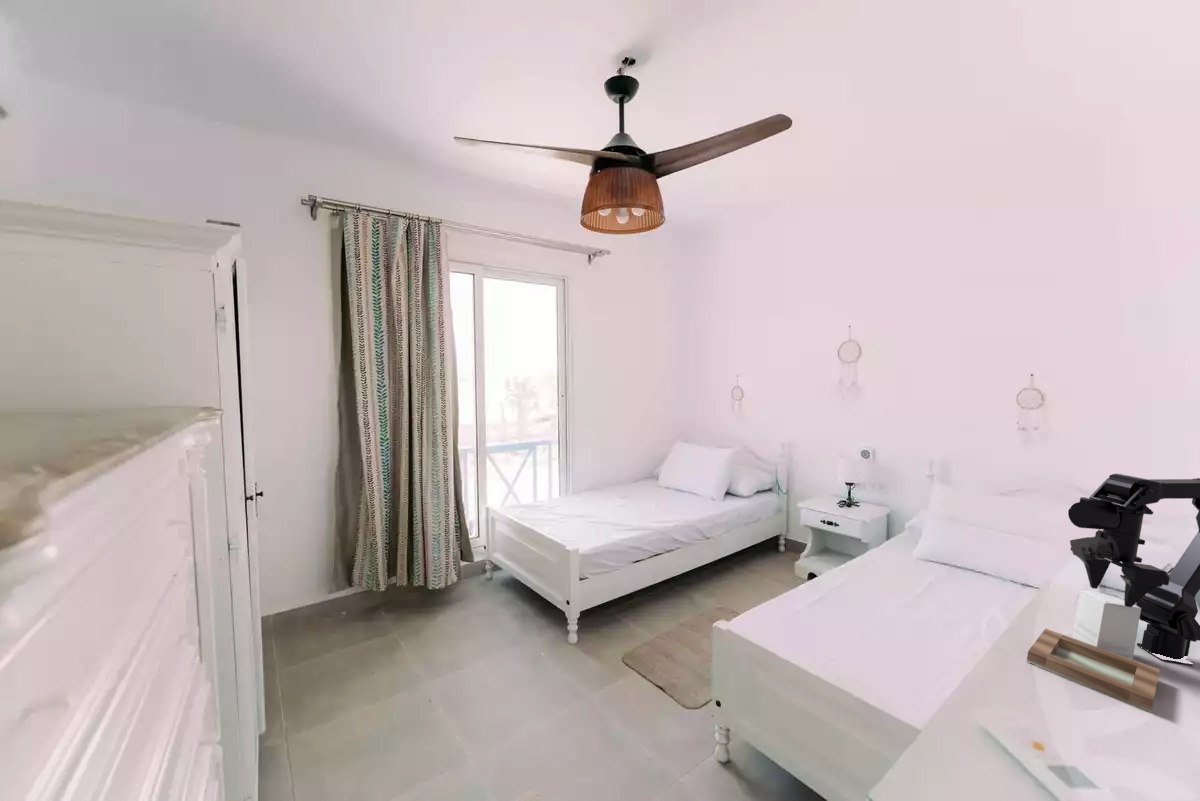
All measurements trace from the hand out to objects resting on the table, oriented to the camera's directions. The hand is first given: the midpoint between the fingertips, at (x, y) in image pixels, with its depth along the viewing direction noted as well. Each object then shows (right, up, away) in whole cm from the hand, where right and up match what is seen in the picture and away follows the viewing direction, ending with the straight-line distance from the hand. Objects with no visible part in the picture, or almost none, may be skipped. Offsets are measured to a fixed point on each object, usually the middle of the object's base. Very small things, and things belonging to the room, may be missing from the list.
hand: (1110, 597), depth 112 cm
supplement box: (-1, -13, +1) cm, 13 cm away
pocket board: (-13, -13, -8) cm, 19 cm away
